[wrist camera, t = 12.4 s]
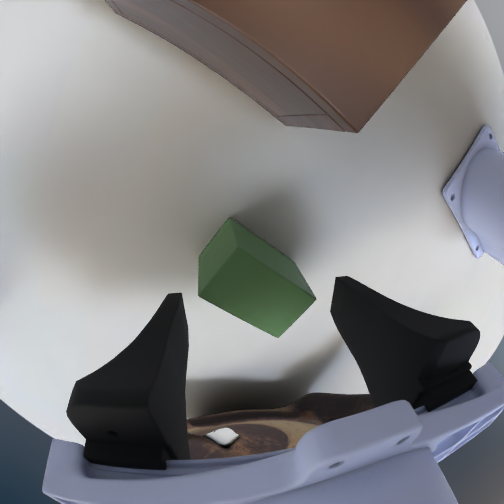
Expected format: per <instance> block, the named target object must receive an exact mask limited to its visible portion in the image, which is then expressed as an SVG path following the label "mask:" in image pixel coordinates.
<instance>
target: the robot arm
mask: <svg viewBox="0 0 504 504" xmlns="http://www.w3.org/2000/svg"><path fill="white" fill-rule="evenodd" d="M443 196H444V198H445V200H446V202H447V203H448V205H449V207H450V209H451V210H452V212H453V214H454V216H455V218H456V220H457V221H458V223H459V225H460V227H461V229H462V231H463V233H464V235H465V237H466V239H467V241H468V243H469V245H470V247H471V249H472V252H473V254H474V256H475V257H476V258H480V257H481V256H482V254H483V253H484V252H485V253H487V254H488V255H490V256H491V257H493V258H494V259H496V260H497V261H499V262H500V263H501V264H503V265H504V152H501V151H500V149H499V147H498V144H497V142H496V139H495V137H494V135H493V132H492V130H491V128H490V126H488V125H484V126H483V128H482V130H481V132H480V133H479V135H478V137H477V138H476V140H475V142H474V143H473V145H472V146H471V148H470V150H469V151H468V153H467V154H466V156H465V158H464V159H463V161H462V162H461V164H460V165H459V167H458V168H457V170H456V171H455V173H454V174H453V176H452V177H451V179H450V180H449V182H448V183H447V185H446V186H445V187H444V189H443ZM330 312H331V315H332V317H333V320H334V322H335V325H336V327H337V329H338V331H339V333H340V334H341V336H342V338H343V339H344V341H345V343H346V345H347V346H348V348H349V350H350V351H351V353H352V355H353V356H354V358H355V360H356V362H357V364H358V366H359V368H360V370H361V372H362V375H363V377H364V380H365V382H366V385H367V388H368V390H369V393H370V396H371V399H372V402H373V405H374V409H371V410H368V411H365V412H361V413H358V414H355V415H352V416H348V417H345V418H341V419H337V420H334V421H330V422H328V423H325V424H322V425H320V426H317V427H315V428H313V429H312V430H310V431H309V432H307V433H305V434H304V435H303V437H302V438H301V439H300V440H299V442H298V443H297V446H296V447H295V448H290V449H285V450H280V451H274V452H268V453H262V454H255V455H247V456H238V457H228V458H216V459H199V460H191V457H190V450H189V441H188V431H187V418H186V401H185V384H186V371H187V360H188V348H189V341H188V325H187V319H186V314H185V309H184V303H183V297H182V293H170V294H168V295H167V296H166V297H165V299H164V301H163V302H162V304H161V305H160V307H159V308H158V310H157V311H156V313H155V314H154V316H153V317H152V319H151V320H150V321H149V323H148V324H147V325H146V326H145V328H144V329H143V330H142V331H141V333H140V334H139V335H138V336H137V337H136V338H135V340H134V341H133V342H132V343H131V344H130V345H129V346H128V347H127V348H125V349H124V350H123V351H122V352H121V353H119V354H118V355H117V356H116V357H115V358H114V359H112V360H111V361H110V362H108V363H107V364H105V365H104V366H102V367H101V368H99V369H98V370H96V371H95V372H93V373H91V374H89V375H87V376H86V377H84V378H82V379H80V380H78V381H76V383H75V385H74V388H73V390H72V394H71V397H70V400H69V404H68V407H67V411H66V412H67V416H68V418H69V420H70V421H71V423H72V424H73V425H74V426H75V427H76V429H77V430H78V431H79V432H80V433H81V434H82V435H83V436H84V438H85V439H86V443H85V447H84V446H83V445H80V444H78V443H74V442H69V441H64V440H59V439H53V440H52V444H51V448H50V452H49V457H48V461H47V466H46V471H45V477H44V482H43V488H42V491H43V492H44V493H45V494H46V495H48V496H50V497H51V498H53V499H55V500H56V501H58V502H60V503H62V504H458V502H457V500H456V498H455V496H454V494H453V492H452V490H451V488H450V486H449V485H448V483H447V481H446V479H445V477H444V475H443V473H442V472H441V469H440V468H439V466H438V464H437V463H438V462H439V461H441V460H442V459H444V458H445V457H447V456H448V455H450V454H451V453H452V452H454V451H455V450H457V449H458V448H460V447H461V446H462V445H464V444H465V443H467V442H468V441H469V440H471V439H472V438H473V437H475V436H476V435H477V434H479V433H480V432H481V431H482V430H484V429H485V428H486V427H488V426H489V425H490V424H491V423H492V422H493V421H494V420H495V418H496V417H497V416H498V415H499V414H500V413H501V412H502V411H503V409H504V378H503V377H502V376H501V375H500V374H499V372H498V371H497V370H496V369H495V368H494V367H493V365H492V364H491V363H487V364H485V365H484V366H482V367H480V368H479V369H477V370H476V371H475V372H474V373H473V374H472V373H471V371H470V369H471V367H472V365H471V364H470V363H469V362H468V361H469V359H470V357H471V356H472V354H473V352H474V350H475V348H476V347H477V344H478V342H479V339H480V331H479V330H478V329H477V328H476V327H475V326H474V325H473V324H472V323H471V322H470V321H464V320H455V319H448V318H443V317H439V316H434V315H431V314H427V313H424V312H421V311H418V310H415V309H412V308H410V307H407V306H405V305H402V304H400V303H398V302H396V301H394V300H392V299H389V298H387V297H386V296H384V295H382V294H380V293H378V292H376V291H374V290H373V289H371V288H369V287H367V286H365V285H364V284H362V283H360V282H358V281H356V280H355V279H353V278H351V277H348V276H342V277H336V279H335V285H334V292H333V298H332V304H331V310H330Z"/></svg>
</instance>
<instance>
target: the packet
mask: <svg viewBox="0 0 504 504" xmlns="http://www.w3.org/2000/svg"><path fill="white" fill-rule="evenodd" d="M198 296H199V297H201V298H203V299H204V300H206V301H208V302H210V303H212V304H214V305H215V306H217V307H219V308H221V309H223V310H225V311H226V312H228V313H230V314H232V315H234V316H236V317H238V318H240V319H242V320H243V321H245V322H247V323H249V324H251V325H253V326H255V327H257V328H259V329H261V330H263V331H265V332H267V333H269V334H271V335H273V336H275V337H277V338H279V337H280V336H281V335H282V334H283V333H284V332H285V331H286V330H287V329H288V328H289V327H290V326H291V325H292V324H293V323H294V322H295V321H296V320H297V319H298V318H299V317H300V316H301V315H302V314H303V313H304V312H305V311H306V310H307V309H308V308H309V307H310V306H311V305H312V304H313V303H314V301H315V300H316V297H315V295H314V294H313V292H312V290H311V289H310V287H309V285H308V284H307V282H306V280H305V279H304V277H303V275H302V274H301V272H300V271H299V269H298V267H297V266H296V264H295V262H293V261H292V260H291V259H289V258H288V257H286V256H285V255H284V254H282V253H281V252H279V251H278V250H276V249H275V248H274V247H272V246H271V245H269V244H268V243H267V242H265V241H264V240H262V239H261V238H259V237H258V236H257V235H255V234H254V233H252V232H251V231H249V230H248V229H247V228H245V227H244V226H242V225H241V224H239V223H238V222H237V221H235V220H234V219H232V218H228V220H227V221H226V222H225V223H224V225H223V226H222V227H221V229H220V230H219V231H218V232H217V234H216V235H215V236H214V238H213V239H212V240H211V242H210V243H209V244H208V245H207V247H206V248H205V249H204V251H203V252H202V253H201V255H200V256H199V269H198Z"/></svg>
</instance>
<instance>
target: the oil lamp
mask: <svg viewBox="0 0 504 504" xmlns="http://www.w3.org/2000/svg"><path fill="white" fill-rule="evenodd" d="M371 409H374V405H373V402H372V399H371V396H370V394H357V395H346V394H330V393H311V394H308V395H305V396H303V397H301V398H300V399H298V400H297V401H296V402H294V403H293V404H291V405H289V406H287V407H283V408H276V409H265V410H240V411H232V412H225V413H219V414H213V415H208V416H202V417H197V418H192V419H188V420H187V431H188V433H191V434H188V441H189V450H190V457H191V460H199V459H216V458H228V457H238V456H247V455H255V454H262V453H268V452H274V451H280V450H285V449H290V448H295V447H296V446H297V443H298V442H299V440H300V439H301V438H302V437H303V435H304V434H305V433H307V432H309V431H310V430H312V429H313V428H315V427H317V426H320V425H322V424H325V423H328V422H330V421H334V420H337V419H341V418H345V417H348V416H352V415H355V414H358V413H361V412H365V411H368V410H371ZM221 428H230V429H232V430H234V432H235V433H237V434H239V435H240V436H241V437H240V438H239V439H237V440H236V441H235V442H234V443H233V444H232V445H231V446H230V447H228V448H222V447H221V446H219V445H217V444H216V443H215V442H213V441H211V440H210V439H207V438H206V437H203V435H206V434H207V433H210V432H212V431H214V430H215V431H216V430H218V429H221ZM215 431H214V432H215Z"/></svg>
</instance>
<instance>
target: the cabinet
mask: <svg viewBox="0 0 504 504" xmlns="http://www.w3.org/2000/svg"><path fill="white" fill-rule="evenodd" d="M105 1H106V2H107V3H108V4H109V5H110V7H111V8H112V9H113V10H114V11H115V12H116V13H117V14H119V15H121V16H123V17H125V18H127V19H129V20H131V21H133V22H134V23H136V24H138V25H140V26H142V27H144V28H146V29H148V30H149V31H151V32H153V33H155V34H156V35H158V36H160V37H162V38H163V39H165V40H167V41H169V42H170V43H172V44H174V45H175V46H177V47H178V48H180V49H182V50H183V51H185V52H186V53H188V54H190V55H191V56H193V57H194V58H196V59H197V60H199V61H200V62H202V63H203V64H205V65H206V66H208V67H209V68H211V69H212V70H214V71H215V72H217V73H218V74H219V75H221V76H222V77H224V78H225V79H227V80H228V81H229V82H231V83H232V84H233V85H235V86H236V87H238V88H239V89H240V90H242V91H243V92H244V93H246V94H247V95H248V96H250V97H251V98H252V99H253V100H255V101H256V102H257V103H259V104H260V105H261V106H262V107H264V108H265V109H266V110H267V111H269V112H270V113H271V114H272V115H274V116H275V117H276V118H277V119H278V120H280V121H281V122H282V123H283V124H284V125H286V126H294V127H307V128H317V129H327V130H335V131H343V132H345V131H346V132H352V133H358V132H359V131H360V130H361V129H362V128H363V127H364V125H365V124H366V123H367V122H368V121H369V119H370V118H371V117H372V116H373V115H374V113H375V112H376V111H377V110H378V109H379V107H380V106H381V105H382V104H383V102H384V101H385V100H386V99H387V98H388V96H389V95H390V94H391V93H392V92H393V90H394V89H395V88H396V87H397V85H398V84H399V83H400V82H401V81H402V79H403V78H404V77H405V76H406V75H407V73H408V72H409V71H410V70H411V68H412V67H413V66H414V65H415V64H416V62H417V61H418V60H419V59H420V58H421V56H422V55H423V54H424V53H425V51H426V50H427V49H428V48H429V47H430V45H431V44H432V43H433V42H434V40H435V39H436V38H437V37H438V35H439V34H440V33H441V32H442V31H443V29H444V28H445V27H446V26H447V24H448V23H449V22H450V21H451V20H452V18H453V17H454V16H455V15H456V13H457V12H458V11H459V10H460V8H461V7H462V6H463V5H464V3H465V2H466V1H467V0H105Z"/></svg>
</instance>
